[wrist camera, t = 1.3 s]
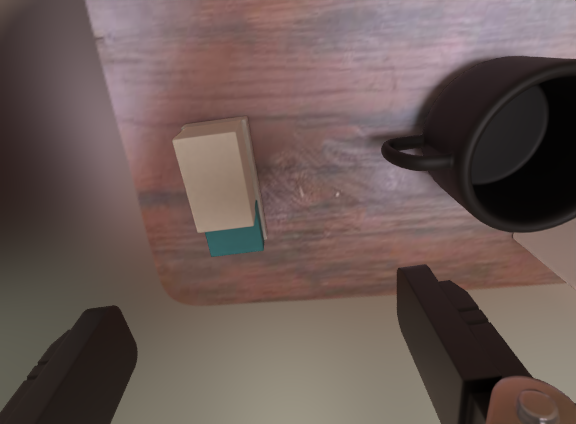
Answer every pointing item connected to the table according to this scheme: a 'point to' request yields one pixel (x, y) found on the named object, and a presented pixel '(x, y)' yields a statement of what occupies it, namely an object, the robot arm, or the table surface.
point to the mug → (503, 143)
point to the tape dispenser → (554, 249)
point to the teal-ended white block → (222, 184)
